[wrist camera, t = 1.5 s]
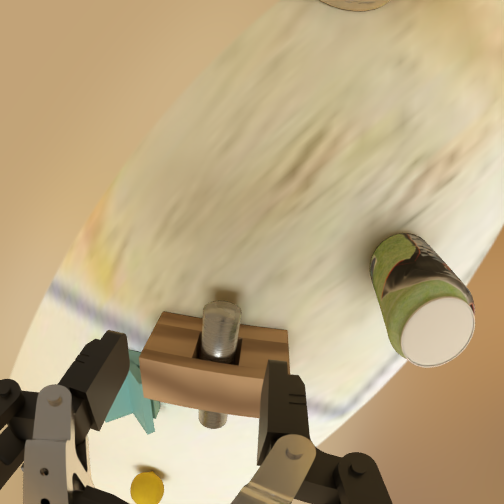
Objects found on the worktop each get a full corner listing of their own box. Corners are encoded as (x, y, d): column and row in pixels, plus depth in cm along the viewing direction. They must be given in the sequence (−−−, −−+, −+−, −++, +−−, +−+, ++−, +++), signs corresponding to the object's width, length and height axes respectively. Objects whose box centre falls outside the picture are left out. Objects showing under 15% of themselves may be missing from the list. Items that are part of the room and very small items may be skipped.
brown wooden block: (163, 311, 30) (138, 357, 23) (287, 330, 29) (290, 381, 23) (165, 385, 33) (149, 431, 27) (269, 402, 33) (268, 450, 27)
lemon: (167, 481, 44) (157, 516, 36) (137, 472, 44) (126, 506, 36) (169, 470, 42) (159, 508, 34) (137, 460, 42) (124, 497, 34)
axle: (207, 298, 26) (200, 318, 24) (242, 303, 26) (239, 324, 24) (201, 405, 32) (196, 426, 29) (228, 409, 32) (225, 430, 29)
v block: (103, 343, 32) (85, 369, 27) (159, 356, 32) (145, 386, 27) (113, 395, 35) (100, 420, 31) (163, 408, 35) (153, 435, 31)
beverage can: (418, 292, 27) (476, 373, 16) (347, 290, 28) (385, 384, 16) (433, 229, 25) (512, 293, 14) (358, 222, 25) (416, 292, 14)
